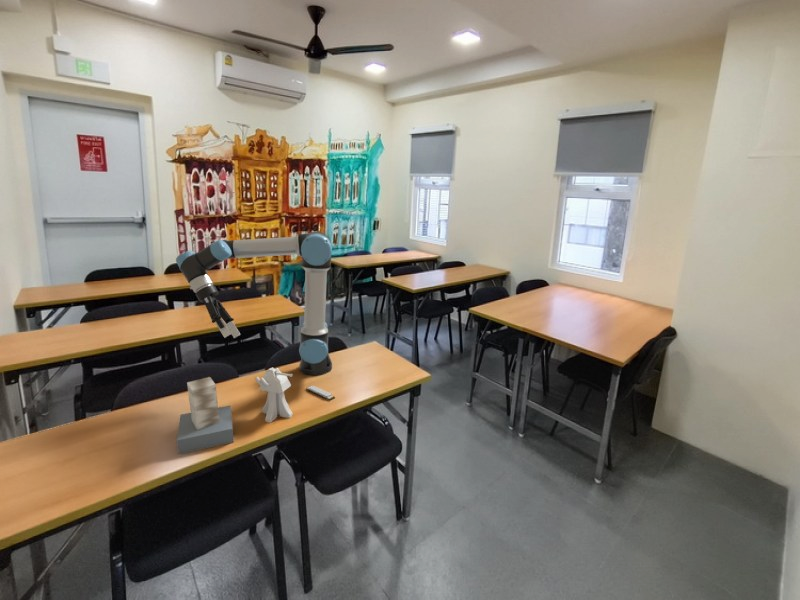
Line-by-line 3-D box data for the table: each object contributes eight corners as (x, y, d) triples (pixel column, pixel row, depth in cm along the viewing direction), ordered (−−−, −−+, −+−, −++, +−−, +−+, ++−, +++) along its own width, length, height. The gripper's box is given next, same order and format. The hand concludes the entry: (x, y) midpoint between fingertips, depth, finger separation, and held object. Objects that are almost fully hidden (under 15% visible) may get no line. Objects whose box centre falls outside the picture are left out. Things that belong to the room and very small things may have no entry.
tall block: (213, 413, 136) (209, 376, 133) (219, 422, 131) (215, 384, 127) (191, 420, 132) (186, 382, 128) (197, 429, 127) (192, 390, 123)
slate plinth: (231, 417, 143) (230, 405, 142) (233, 442, 129) (232, 428, 128) (182, 427, 136) (180, 414, 135) (178, 454, 122) (176, 440, 121)
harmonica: (335, 399, 158) (335, 394, 158) (329, 402, 156) (329, 397, 156) (311, 388, 167) (311, 383, 166) (305, 390, 165) (305, 386, 164)
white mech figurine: (285, 425, 139) (282, 379, 134) (253, 419, 142) (249, 373, 138) (302, 409, 150) (300, 365, 145) (272, 403, 153) (269, 360, 149)
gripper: (206, 297, 162) (232, 341, 162) (182, 289, 138) (213, 341, 137) (222, 288, 164) (248, 331, 163) (202, 279, 139) (233, 330, 139)
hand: (232, 336), depth 150 cm, fingers open, 13 cm apart
